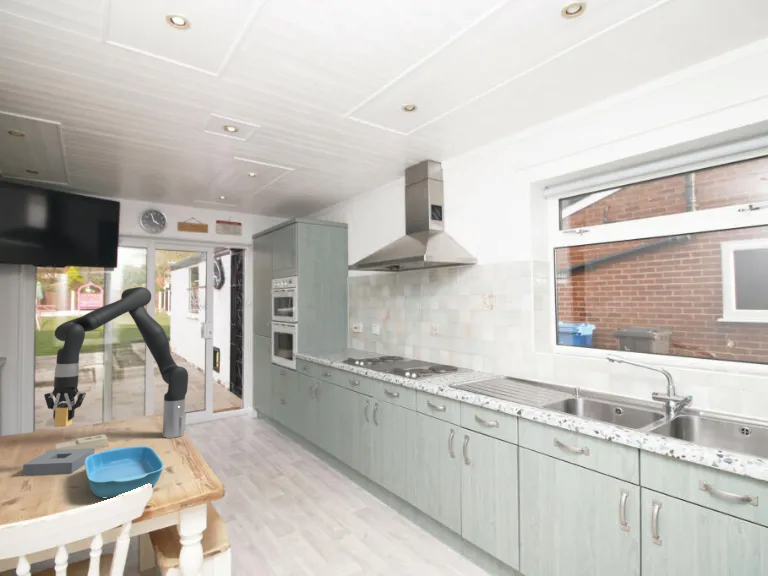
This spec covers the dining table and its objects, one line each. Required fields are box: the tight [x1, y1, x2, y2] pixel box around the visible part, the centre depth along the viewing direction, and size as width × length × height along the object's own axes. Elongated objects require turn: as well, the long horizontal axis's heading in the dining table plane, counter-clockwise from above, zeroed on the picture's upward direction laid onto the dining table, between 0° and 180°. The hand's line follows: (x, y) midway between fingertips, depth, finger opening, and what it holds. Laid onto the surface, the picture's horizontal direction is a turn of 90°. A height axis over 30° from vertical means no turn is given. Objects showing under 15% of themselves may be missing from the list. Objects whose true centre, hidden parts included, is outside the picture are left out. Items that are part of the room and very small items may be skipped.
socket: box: [22, 448, 96, 476], centre depth 160 cm, size 16×16×4 cm
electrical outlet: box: [54, 434, 109, 450], centre depth 181 cm, size 7×4×18 cm
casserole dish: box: [84, 445, 165, 499], centre depth 148 cm, size 37×22×7 cm, turn 39°
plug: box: [53, 401, 73, 428], centre depth 161 cm, size 4×4×8 cm
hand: (63, 419), depth 161 cm, fingers closed on plug, 4 cm apart
